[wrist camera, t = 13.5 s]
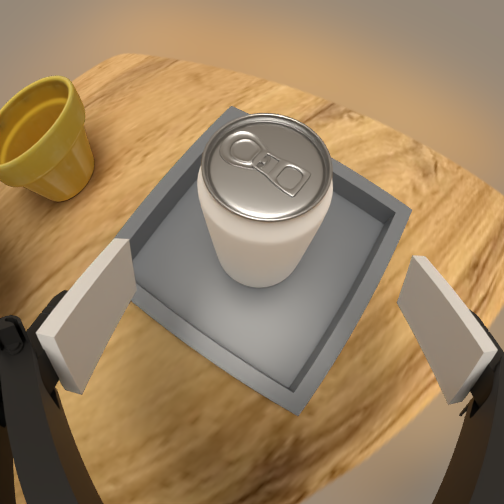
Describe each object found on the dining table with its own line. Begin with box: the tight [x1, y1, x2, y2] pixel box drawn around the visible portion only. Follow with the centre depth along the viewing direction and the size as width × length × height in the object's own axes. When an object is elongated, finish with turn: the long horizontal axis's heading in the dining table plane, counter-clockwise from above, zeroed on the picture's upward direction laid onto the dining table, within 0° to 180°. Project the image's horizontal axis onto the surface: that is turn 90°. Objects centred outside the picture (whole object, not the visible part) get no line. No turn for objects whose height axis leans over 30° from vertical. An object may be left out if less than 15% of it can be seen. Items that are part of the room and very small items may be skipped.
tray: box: [115, 106, 412, 416], centre depth 23 cm, size 18×18×3 cm
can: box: [197, 113, 333, 288], centre depth 18 cm, size 6×6×12 cm
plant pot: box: [0, 76, 94, 202], centre depth 22 cm, size 10×10×10 cm
